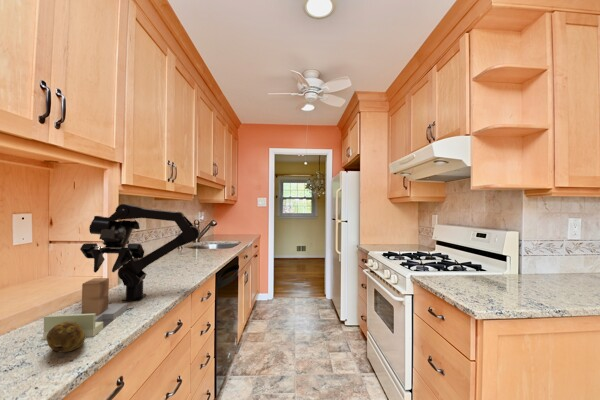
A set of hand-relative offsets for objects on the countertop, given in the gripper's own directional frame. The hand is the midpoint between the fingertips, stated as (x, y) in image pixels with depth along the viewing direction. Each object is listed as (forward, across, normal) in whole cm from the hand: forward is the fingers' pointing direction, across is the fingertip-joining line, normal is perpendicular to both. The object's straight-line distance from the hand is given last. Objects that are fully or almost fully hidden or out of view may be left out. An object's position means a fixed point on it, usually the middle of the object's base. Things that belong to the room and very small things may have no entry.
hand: (103, 271), depth 92 cm
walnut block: (+12, 0, +5) cm, 13 cm away
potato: (+27, +4, -8) cm, 28 cm away
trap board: (+15, 0, +4) cm, 16 cm away
